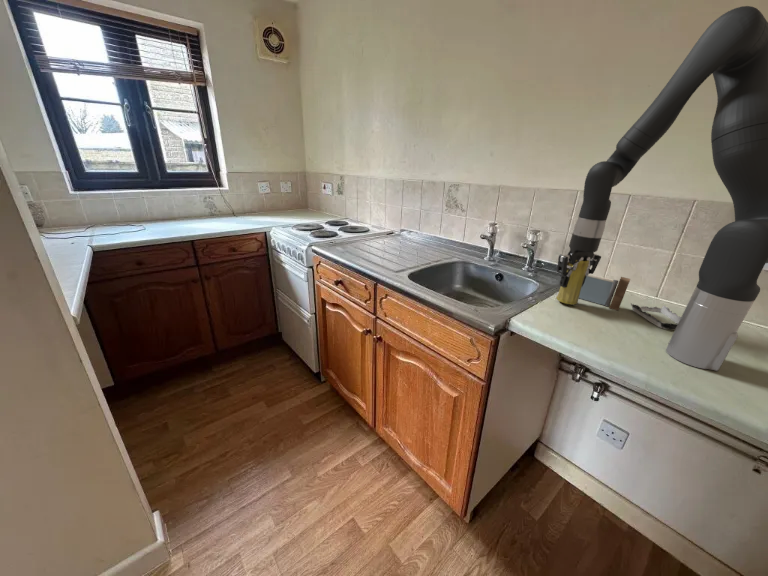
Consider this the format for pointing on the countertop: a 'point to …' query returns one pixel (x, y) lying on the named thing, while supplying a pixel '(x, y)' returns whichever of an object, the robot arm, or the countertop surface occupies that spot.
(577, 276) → the vase
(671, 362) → the countertop surface
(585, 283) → the grey flat panel
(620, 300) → the gate post
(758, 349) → the countertop surface
